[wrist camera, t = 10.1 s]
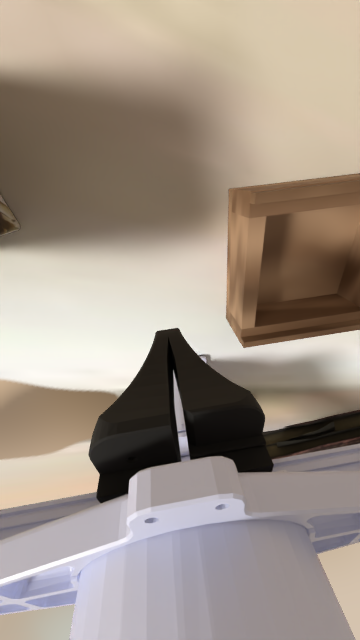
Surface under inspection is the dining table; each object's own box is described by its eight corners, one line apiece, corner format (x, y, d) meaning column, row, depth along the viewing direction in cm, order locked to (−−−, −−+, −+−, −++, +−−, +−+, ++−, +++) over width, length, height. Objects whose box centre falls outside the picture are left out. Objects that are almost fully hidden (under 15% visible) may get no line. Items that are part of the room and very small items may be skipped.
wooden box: (337, 301, 25) (378, 327, 21) (226, 318, 24) (243, 348, 20) (380, 170, 18) (455, 167, 14) (228, 189, 18) (256, 191, 13)
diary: (349, 451, 49) (368, 477, 44) (239, 476, 49) (248, 504, 44) (376, 400, 38) (404, 428, 34) (236, 432, 38) (246, 464, 34)
